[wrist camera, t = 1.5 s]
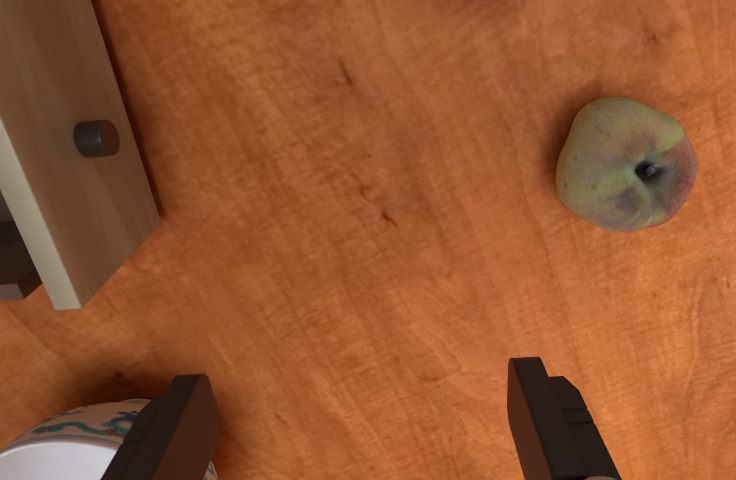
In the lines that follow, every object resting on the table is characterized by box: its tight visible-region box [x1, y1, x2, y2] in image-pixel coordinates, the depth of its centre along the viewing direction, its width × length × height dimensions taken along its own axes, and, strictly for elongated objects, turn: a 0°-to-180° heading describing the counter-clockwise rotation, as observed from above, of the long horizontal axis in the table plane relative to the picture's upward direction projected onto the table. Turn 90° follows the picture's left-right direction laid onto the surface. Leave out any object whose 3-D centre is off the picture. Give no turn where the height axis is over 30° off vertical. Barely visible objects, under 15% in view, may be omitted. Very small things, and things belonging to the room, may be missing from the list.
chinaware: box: [0, 399, 218, 480], centre depth 35 cm, size 15×15×8 cm
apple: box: [556, 96, 697, 232], centre depth 25 cm, size 6×8×6 cm
